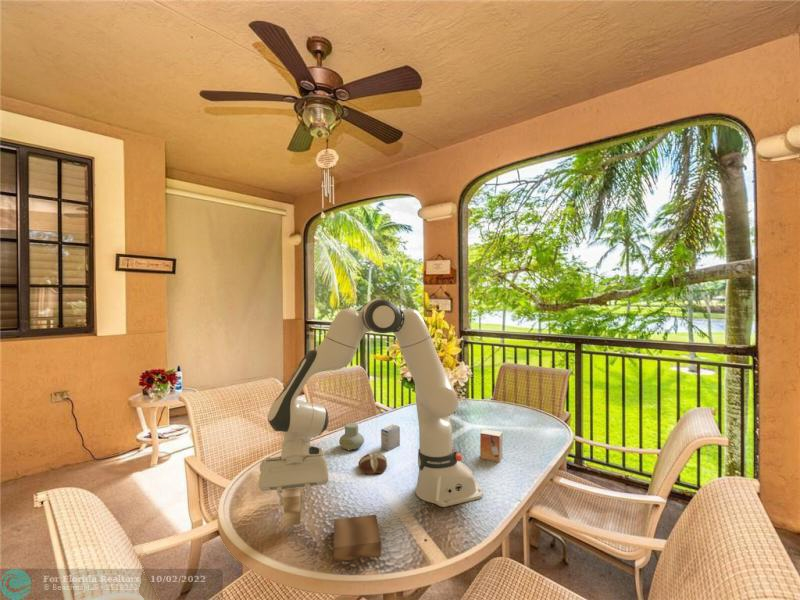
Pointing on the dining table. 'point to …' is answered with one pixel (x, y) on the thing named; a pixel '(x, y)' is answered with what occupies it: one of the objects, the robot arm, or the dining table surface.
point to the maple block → (292, 506)
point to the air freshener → (351, 437)
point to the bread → (373, 463)
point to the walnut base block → (356, 538)
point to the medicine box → (390, 437)
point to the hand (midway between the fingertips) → (292, 503)
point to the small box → (491, 445)
